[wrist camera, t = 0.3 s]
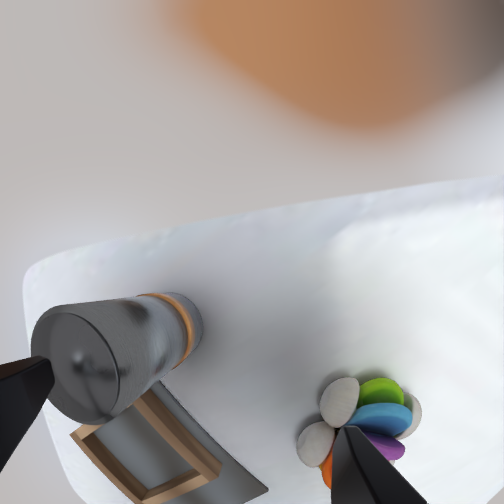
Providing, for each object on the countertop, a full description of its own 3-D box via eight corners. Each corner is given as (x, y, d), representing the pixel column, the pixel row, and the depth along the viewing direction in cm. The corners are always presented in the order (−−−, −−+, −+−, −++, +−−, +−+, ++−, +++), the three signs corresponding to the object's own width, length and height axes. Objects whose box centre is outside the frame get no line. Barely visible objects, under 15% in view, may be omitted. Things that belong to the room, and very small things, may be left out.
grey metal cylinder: (168, 370, 23) (77, 446, 9) (128, 318, 23) (10, 346, 10) (218, 332, 23) (154, 393, 10) (174, 277, 23) (70, 274, 10)
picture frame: (185, 524, 21) (179, 538, 19) (82, 425, 23) (69, 434, 20) (268, 488, 21) (267, 504, 19) (152, 372, 23) (140, 381, 20)
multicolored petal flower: (284, 452, 22) (287, 504, 14) (336, 355, 22) (362, 386, 15) (367, 472, 21) (389, 519, 14) (420, 384, 21) (462, 414, 14)
